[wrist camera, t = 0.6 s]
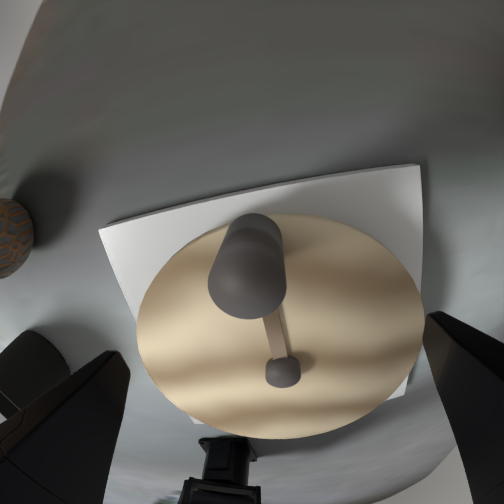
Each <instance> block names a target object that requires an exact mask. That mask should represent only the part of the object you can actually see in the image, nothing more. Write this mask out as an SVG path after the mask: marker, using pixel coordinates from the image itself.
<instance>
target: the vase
mask: <svg viewBox="0 0 504 504" xmlns="http://www.w3.org/2000/svg"><path fill="white" fill-rule="evenodd" d="M33 240H34V228H33V223H32V220H31V217H30V215H29V214H28V212H27V211H26V209H25V208H24V207H23V206H22V205H21V204H19V203H18V202H16V201H14V200H11V199H5V198H1V199H0V279H3V278H6V277H8V276H10V275H11V274H13V273H14V272H15V271H17V270H18V269H19V268H20V267H21V266H22V265H23V264H24V262H25V261H26V259H27V258H28V256H29V254H30V252H31V249H32V245H33Z"/></svg>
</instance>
